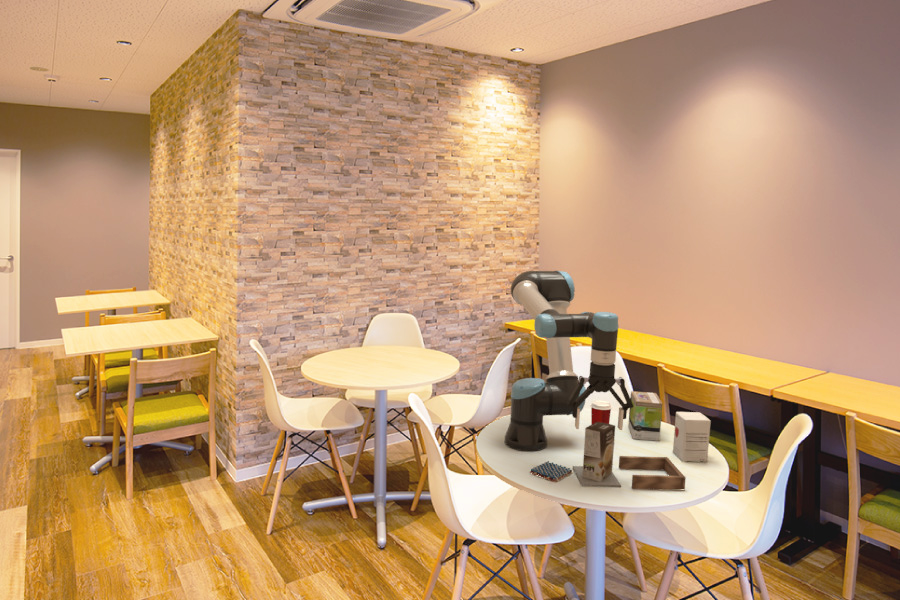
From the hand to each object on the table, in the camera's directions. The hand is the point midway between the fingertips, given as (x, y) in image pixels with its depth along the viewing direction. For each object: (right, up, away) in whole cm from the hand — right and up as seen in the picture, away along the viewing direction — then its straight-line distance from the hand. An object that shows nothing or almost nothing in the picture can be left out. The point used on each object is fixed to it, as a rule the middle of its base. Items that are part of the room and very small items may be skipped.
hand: (598, 428), depth 197 cm
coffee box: (0, -16, +2) cm, 16 cm away
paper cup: (+9, -12, +36) cm, 38 cm away
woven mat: (-14, -16, +4) cm, 22 cm away
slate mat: (0, -16, +2) cm, 16 cm away
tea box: (+28, -11, +44) cm, 53 cm away
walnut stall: (+17, -16, +2) cm, 24 cm away
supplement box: (+37, -15, +21) cm, 45 cm away
